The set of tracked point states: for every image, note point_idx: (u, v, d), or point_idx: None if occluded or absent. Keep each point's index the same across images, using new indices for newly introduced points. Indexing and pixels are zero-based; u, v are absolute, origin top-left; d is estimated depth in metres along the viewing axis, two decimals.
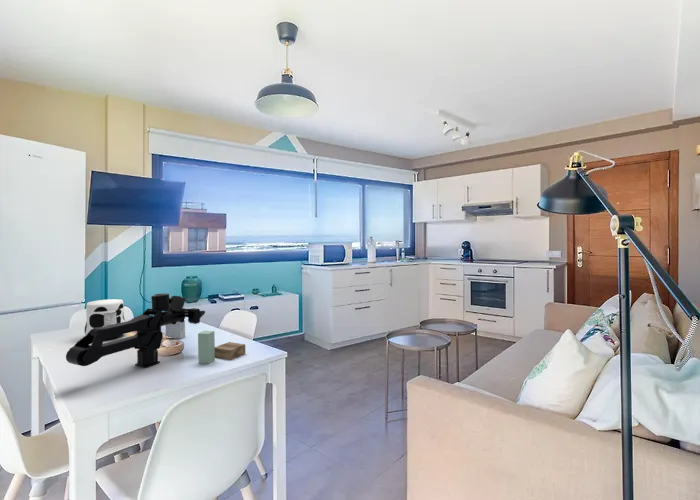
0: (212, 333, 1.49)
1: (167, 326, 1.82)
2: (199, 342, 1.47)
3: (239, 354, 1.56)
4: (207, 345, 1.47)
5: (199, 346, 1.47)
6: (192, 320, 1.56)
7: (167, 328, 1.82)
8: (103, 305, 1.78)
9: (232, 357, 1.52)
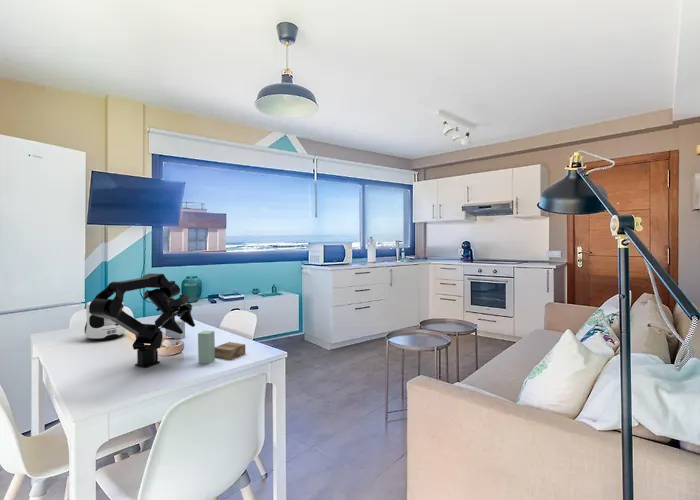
0: (212, 333, 1.49)
1: None
2: (199, 342, 1.47)
3: (239, 354, 1.56)
4: (207, 345, 1.47)
5: (199, 346, 1.47)
6: None
7: None
8: None
9: (232, 357, 1.52)
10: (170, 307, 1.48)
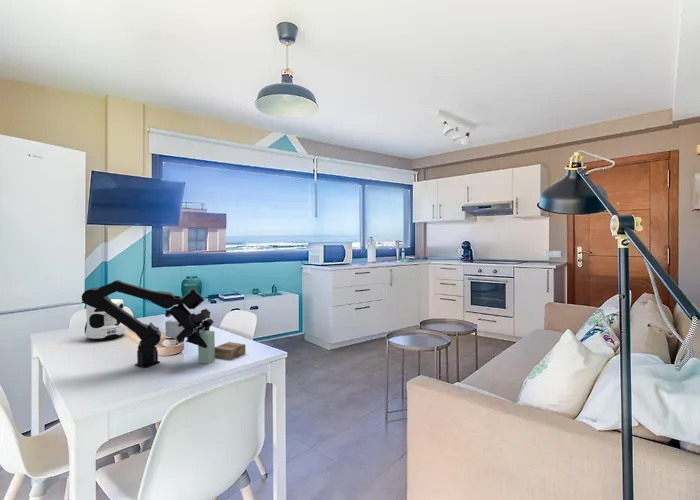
0: (212, 333, 1.49)
1: (167, 326, 1.82)
2: None
3: (239, 354, 1.56)
4: (207, 345, 1.47)
5: (199, 346, 1.47)
6: None
7: (167, 328, 1.82)
8: None
9: (232, 357, 1.52)
10: (191, 322, 1.47)
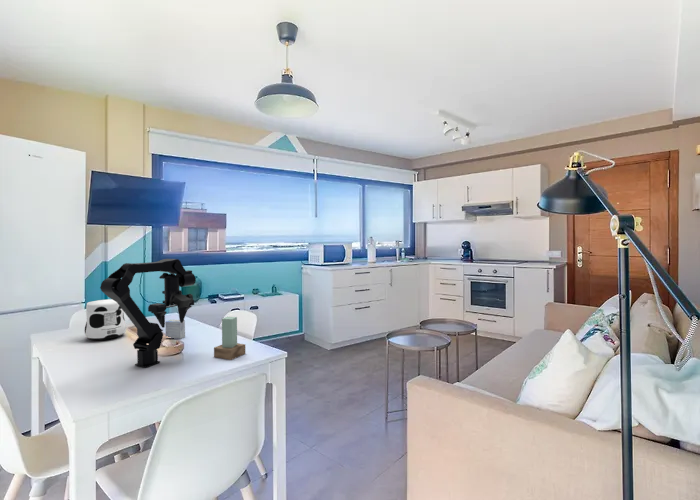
0: (235, 319, 1.57)
1: (167, 326, 1.82)
2: (223, 327, 1.55)
3: (239, 354, 1.56)
4: (230, 330, 1.54)
5: (223, 331, 1.55)
6: (152, 304, 1.50)
7: (167, 328, 1.82)
8: (103, 305, 1.78)
9: (232, 357, 1.52)
10: (170, 300, 1.53)
